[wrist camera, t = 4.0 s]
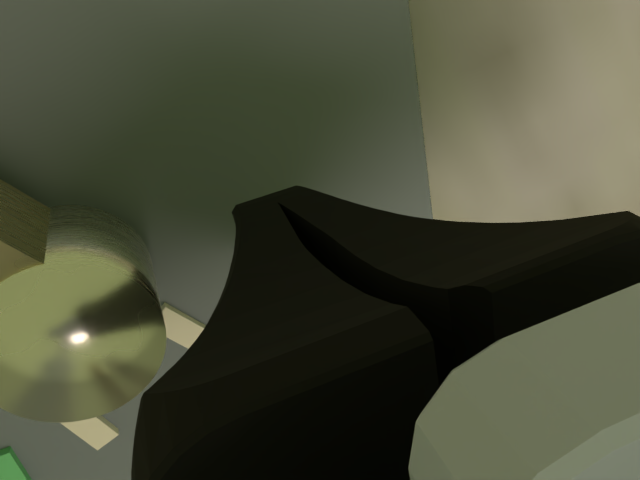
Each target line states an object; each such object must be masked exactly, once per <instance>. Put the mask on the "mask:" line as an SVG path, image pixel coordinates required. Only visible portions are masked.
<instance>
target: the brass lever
mask: <svg viewBox="0 0 640 480" xmlns="http://www.w3.org/2000/svg"><path fill="white" fill-rule="evenodd" d="M166 340H167V336H166V327H165V322H164V317H163V312H162V308H161V303H160V298H159V293H158V289H157V284H156V279H155V274H154V270H153V265H152V261H151V257H150V253H149V251H148V249H147V246H146V245H145V243H144V241H143V240H142V238H141V237H140V236H139V234H138V233H137V232H136V231H135V230H134V229H133V228H132V227H131V226H130V225H129V224H127V223H126V222H125V221H123V220H122V219H120V218H119V217H117V216H115V215H113V214H111V213H109V212H106V211H103V210H101V209H97V208H93V207H89V206H82V205H58V206H52V207H47V206H45V205H43V204H42V203H40V202H38V201H37V200H35V199H33V198H32V197H30V196H28V195H26V194H25V193H23V192H21V191H20V190H18V189H16V188H15V187H13V186H11V185H9V184H8V183H6V182H4V181H3V180H1V179H0V408H2V409H3V410H5V411H7V412H10V413H12V414H14V415H17V416H20V417H23V418H26V419H30V420H35V421H41V422H51V423H65V422H76V421H81V420H87V419H91V418H94V417H98V416H101V415H104V414H106V413H109V412H111V411H113V410H115V409H117V408H119V407H121V406H123V405H124V404H126V403H127V402H129V401H130V400H132V399H133V398H134V397H136V396H137V395H138V394H139V393H141V392H142V391H143V389H144V388H145V387H146V386H147V385H148V384H149V383H150V382H151V380H152V379H153V378H154V376H155V375H156V373H157V371H158V369H159V368H160V365H161V363H162V360H163V358H164V354H165V350H166Z"/></svg>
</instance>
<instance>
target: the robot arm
mask: <svg viewBox="0 0 640 480" xmlns="http://www.w3.org/2000/svg"><path fill="white" fill-rule="evenodd" d="M232 215H233V218H234V222H235V225H236V236H235V245H234V253H233V258H232V262H231V266H230V270H229V274H228V278H227V281H226V284H225V287H224V289H223V292H222V294H221V297H220V299H219V301H218V304H217V306H216V308H215V310H214V311H213V313H212V315H211V317H210V319H209V321H208V323H207V325H206V326H205V328H204V330H203V331H202V332H201V334H200V335H199V336H198V338H197V339H196V340H195V342H194V343H193V344H192V345H191V347H190V348H189V349H188V350H187V351H186V352H185V354H184V355H183V356H182V357H181V358H180V359H179V360H178V361H177V362H176V363H175V364H174V365H173V366H172V367H171V368H170V369H169V370H168V371H167V372H166V373H165V374H164V375H163V376H162V377H161V378H160V379H159V380H158V381H156V382H155V383H154V384H153V385H152V386H151V387H150V388H149V389H148V390H146V391H145V392H144V393H143V395H142V397H141V400H140V405H139V410H138V416H137V422H136V428H135V435H134V444H133V453H132V468H131V480H640V217H639V216H637V215H635V214H633V213H631V212H629V211H624V212H616V213H609V214H601V215H594V216H587V217H579V218H572V219H564V220H553V221H537V222H521V223H477V222H455V221H443V220H435V219H427V218H420V217H413V216H407V215H401V214H397V213H392V212H388V211H383V210H379V209H375V208H371V207H367V206H364V205H360V204H357V203H353V202H350V201H347V200H343V199H340V198H337V197H334V196H331V195H328V194H325V193H322V192H319V191H316V190H313V189H309V188H306V187H302V186H297V185H296V186H293V187H290V188H287V189H283V190H280V191H277V192H274V193H271V194H268V195H265V196H262V197H259V198H256V199H253V200H249V201H246V202H243V203H240V204H237V205H236V206H235V207H234V209H233V211H232Z"/></svg>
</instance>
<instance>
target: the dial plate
mask: <svg viewBox="0 0 640 480" xmlns="http://www.w3.org/2000/svg"><path fill="white" fill-rule="evenodd" d="M0 179H1V180H3V181H4V182H6V183H8V184H9V185H11V186H13V187H15V188H16V189H18V190H20V191H21V192H23V193H25V194H26V195H28V196H30V197H32V198H33V199H35V200H37V201H38V202H40V203H42V204H43V205H45V206H47V207H52V206H58V205H82V206H89V207H93V208H97V209H101V210H103V211H106V212H109V213H111V214H113V215H115V216H117V217H119V218H120V219H122V220H123V221H125V222H126V223H127V224H129V225H130V226H131V227H132V228H133V229H134V230H135V231H136V232H137V233H138V234H139V236H140V237H141V238H142V240H143V241H144V243H145V245H146V246H147V249H148V251H149V253H150V257H151V261H152V265H153V270H154V274H155V279H156V284H157V289H158V293H159V298H160V303H161V308H162V312H163V317H164V322H165V327H166V336H167V340H166V350H165V354H164V358H163V360H162V363H161V365H160V368H159V369H158V371H157V373H156V375H155V376H154V378H153V379H152V380H151V382H150V383H149V384H148V385H147V386H146V387H145V388H144V389H143V391H142V392H141V393H139V394H138V395H137V396H136V397H134V398H133V399H132V400H130V401H129V402H127V403H126V404H124V405H123V406H121V407H119V408H117V409H115V410H113V411H111V412H109V413H106V414H104V415H101V416H98V417H94V418H91V419H87V420H81V421H76V422H65V423H51V422H41V421H35V420H30V419H26V418H23V417H20V416H17V415H14V414H12V413H10V412H7V411H5V410H3V409H2V408H0V480H131V468H132V453H133V444H134V435H135V428H136V422H137V416H138V410H139V405H140V400H141V397H142V395H143V393H144V392H145V391H146V390H148V389H149V388H150V387H151V386H152V385H153V384H154V383H155V382H156V381H158V380H159V379H160V378H161V377H162V376H163V375H164V374H165V373H166V372H167V371H168V370H169V369H170V368H171V367H172V366H173V365H174V364H175V363H176V362H177V361H178V360H179V359H180V358H181V357H182V356H183V355H184V354H185V352H186V351H187V350H188V349H189V348H190V347H191V345H192V344H193V343H194V342H195V340H196V339H197V338H198V336H199V335H200V334H201V332H202V331H203V330H204V328H205V326H206V325H207V323H208V321H209V319H210V317H211V315H212V313H213V311H214V310H215V308H216V306H217V304H218V301H219V299H220V297H221V294H222V292H223V289H224V287H225V284H226V281H227V278H228V274H229V270H230V266H231V262H232V258H233V253H234V245H235V236H236V225H235V222H234V218H233V215H232V211H233V209H234V207H235V206H236V205H237V204H240V203H243V202H246V201H249V200H253V199H256V198H259V197H262V196H265V195H268V194H271V193H274V192H277V191H280V190H283V189H287V188H290V187H293V186H296V185H297V186H302V187H306V188H309V189H313V190H316V191H319V192H322V193H325V194H328V195H331V196H334V197H337V198H340V199H343V200H347V201H350V202H353V203H357V204H360V205H364V206H367V207H371V208H375V209H379V210H383V211H388V212H392V213H397V214H401V215H407V216H413V217H420V218H427V219H433V216H432V207H431V199H430V190H429V181H428V172H427V163H426V154H425V145H424V136H423V127H422V119H421V110H420V101H419V92H418V83H417V74H416V65H415V56H414V48H413V39H412V30H411V21H410V12H409V3H408V0H0Z"/></svg>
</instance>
